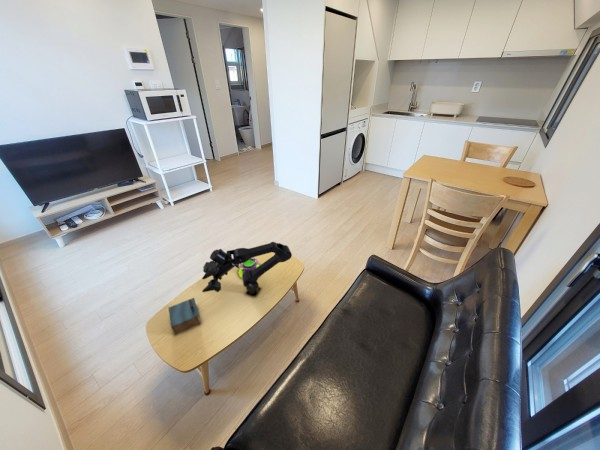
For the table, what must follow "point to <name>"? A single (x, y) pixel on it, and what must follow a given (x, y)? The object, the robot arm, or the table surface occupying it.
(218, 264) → the robot arm
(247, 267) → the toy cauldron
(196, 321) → the box
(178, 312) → the lid
